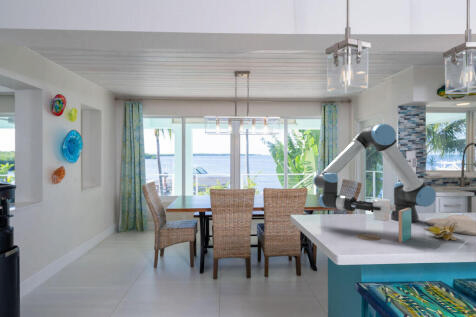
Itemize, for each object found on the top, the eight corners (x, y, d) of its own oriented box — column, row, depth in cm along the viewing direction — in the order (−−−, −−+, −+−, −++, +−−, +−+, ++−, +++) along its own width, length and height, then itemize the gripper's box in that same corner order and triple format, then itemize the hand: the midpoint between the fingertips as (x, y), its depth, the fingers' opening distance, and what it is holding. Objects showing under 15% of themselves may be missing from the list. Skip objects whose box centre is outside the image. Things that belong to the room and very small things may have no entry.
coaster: (362, 233, 158) (362, 232, 157) (384, 237, 150) (384, 236, 150) (351, 237, 150) (351, 236, 150) (375, 242, 142) (375, 241, 142)
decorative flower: (418, 230, 158) (423, 211, 157) (441, 236, 156) (447, 217, 155) (432, 240, 143) (438, 219, 142) (458, 246, 142) (464, 225, 140)
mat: (404, 236, 153) (404, 235, 153) (445, 242, 141) (445, 241, 141) (392, 242, 142) (392, 241, 142) (435, 250, 130) (435, 249, 130)
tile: (407, 237, 149) (407, 207, 149) (411, 237, 148) (411, 208, 148) (398, 242, 141) (398, 210, 141) (402, 242, 140) (402, 211, 140)
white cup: (379, 221, 148) (380, 200, 148) (368, 218, 156) (369, 198, 156) (393, 221, 150) (394, 200, 150) (382, 217, 158) (382, 198, 158)
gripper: (355, 208, 173) (399, 214, 157) (336, 212, 159) (382, 219, 143) (355, 194, 173) (399, 199, 156) (337, 197, 159) (383, 202, 143)
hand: (391, 208), depth 150 cm, fingers closed on white cup, 7 cm apart
